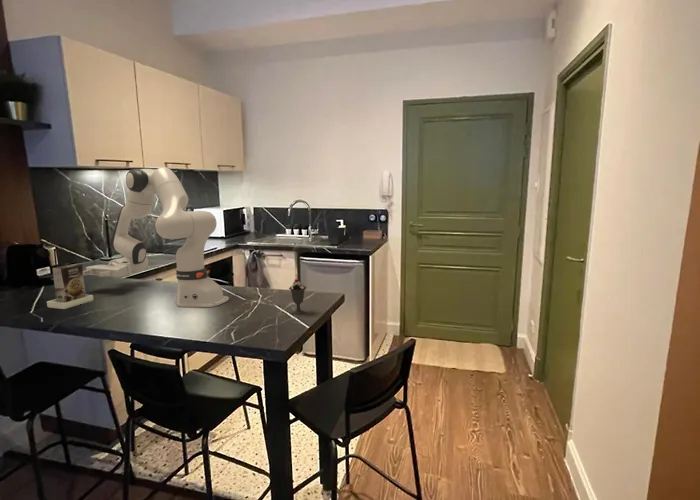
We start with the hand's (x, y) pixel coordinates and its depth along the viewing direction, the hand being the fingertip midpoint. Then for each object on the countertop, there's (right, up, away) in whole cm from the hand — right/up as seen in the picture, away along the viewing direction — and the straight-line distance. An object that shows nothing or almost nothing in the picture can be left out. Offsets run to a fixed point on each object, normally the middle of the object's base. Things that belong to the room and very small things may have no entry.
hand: (91, 274), depth 188 cm
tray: (-3, -12, -9) cm, 15 cm away
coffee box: (-3, -12, -9) cm, 15 cm away
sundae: (+97, -14, -26) cm, 102 cm away
